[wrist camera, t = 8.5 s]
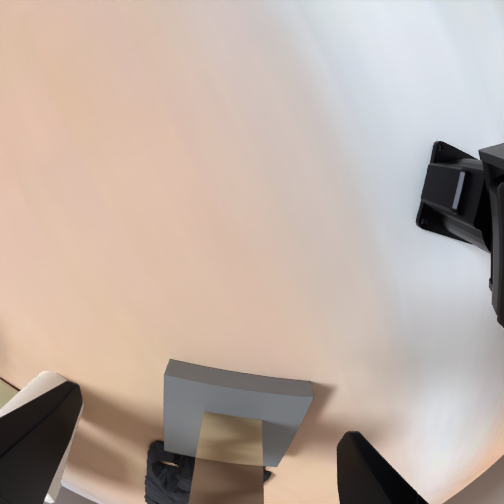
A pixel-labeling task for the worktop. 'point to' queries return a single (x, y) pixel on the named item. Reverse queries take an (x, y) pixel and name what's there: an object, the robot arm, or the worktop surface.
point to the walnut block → (226, 483)
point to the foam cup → (30, 392)
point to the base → (231, 406)
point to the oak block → (230, 439)
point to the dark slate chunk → (171, 476)
